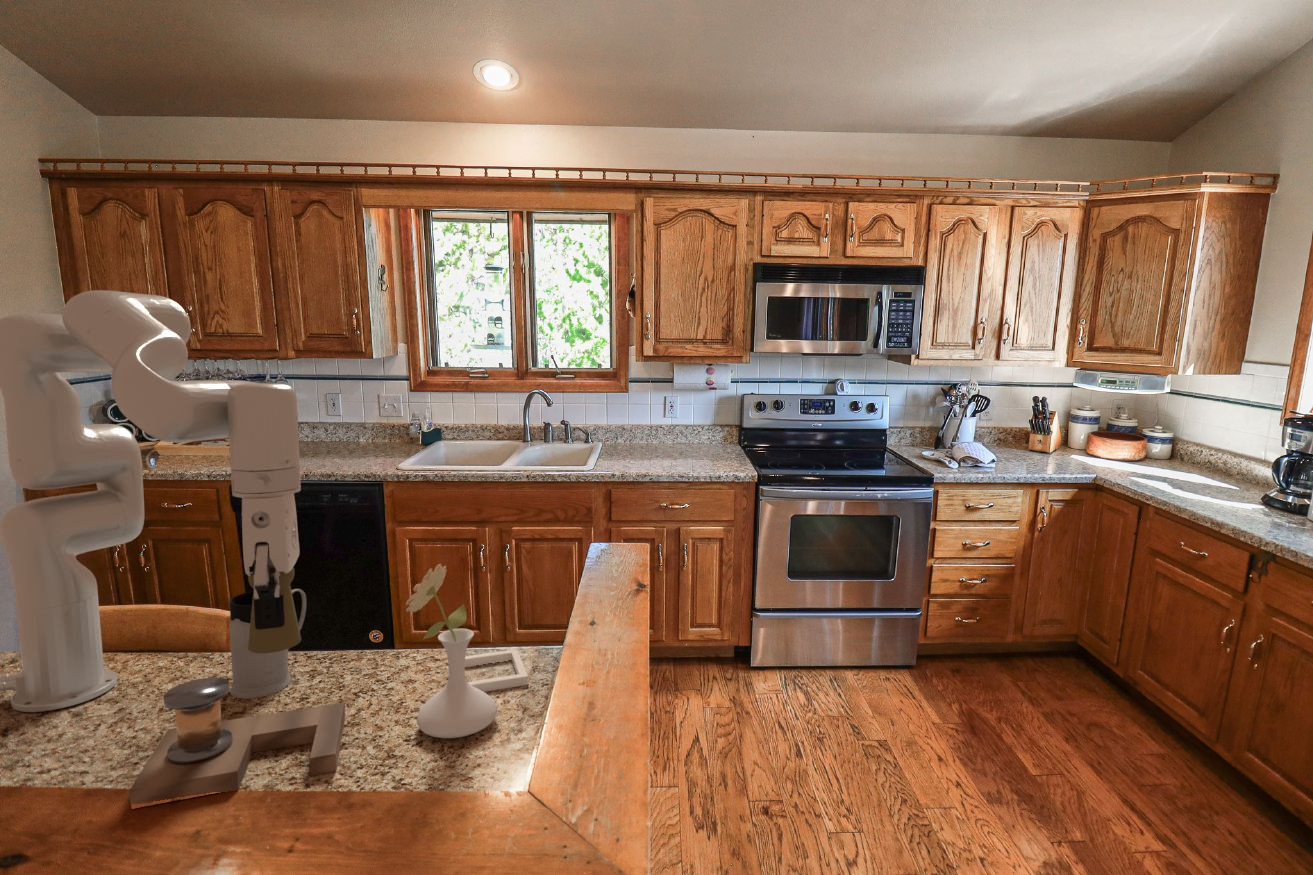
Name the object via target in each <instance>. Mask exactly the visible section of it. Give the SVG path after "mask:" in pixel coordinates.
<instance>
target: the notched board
mask: <svg viewBox="0 0 1313 875" xmlns="http://www.w3.org/2000/svg"><path fill="white" fill-rule="evenodd" d="M345 712H346V707H345V702H339V703H331V704H326V705H318V706H313V707H305V708H300V709H293V710H292V709H291V710H287V711H279V712H272V713H266V714H259V715H254V716H253V715H252V716H248V717H241V718H233V719H227V720H221V721H222V729H225V730H228V731H230V732H231V733H232V738H233V743H232V745H231V746H230V748H229V749H228V750H226V751H225V752H224V753H222V754H220V755H219V756H217V757H215V758H212V759H210V760H207V761H204V762H200V763H196V764H190V765H176V764H172V763H170V762H169V761H168V754H167V751H168V749H169V747H170V746H171V745H172V744H173V743H174V742H176V741H177V728H176V727H175V728H169V729H167V730H166V732H165V734H164V735H163V737H162V738H161V740H160V741H159V743H158V744H157V746H156V748H155V749H154V750H153V752H152V754H151V756H150V757H149V758H148V760H147V762H146V764H145V765H144V766H143V768H142V769H141V771H140V773H139V775H138V776H137V777H136V779H135V780H134V782H133V784H132V785H131V787H130V788H129V802H130V805H131V804H141V803H150V802H153V801H160V800H165V799H167V800H168V799H174V798H177V797H185V796H190V795H199V794H206V793H210V792H211V793H212V792H225V793H230V792H235V791H239V790H240V787H241V785H242V782H243V780H244V777H245V774H246V772H247V770H248V769H247V768H248V767H249V763H250V760H251V758H252V755H253V753H259V752H264V751H265V752H266V751H270V750H276V749H283V748H288V747H294V746H300V745H305V744H310V743H312V746H311V747H312V748H311V752H310V756H309V771H310V772H309V773H310V777H315V776H320V775H326V774H332V773H336V772H337V770H338V762H339V757H340V752H341V751H340V750H341V745H342V739H343V732H344V727H345V720H346V715H345V714H346V713H345ZM229 791H230V792H229Z"/></svg>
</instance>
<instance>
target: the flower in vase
mask: <svg viewBox="0 0 1313 875" xmlns="http://www.w3.org/2000/svg"><path fill="white" fill-rule="evenodd" d="M446 568H447V566H446V565H444V566H442V564H441V563H439V564H437V565H436V566H435V568H434V570H433V568H429V569H428V570H427V571H426V574H425V575H424V576H423V578H422V581H421V582H420V583H417V584H415V585H414V586H413V589H412V590H413V592H414V593H413V594H412V595H410V597H409V598H408V599H407V601H406V602H405V606H408V605H409V606H408V607H407V608H406V612H410V613H412V612H414V613H416V612H418V611H419V610H421V609H422V608H423V607H424V606H426V604H428V602H430V600H432V599H433V598H435V600H436V603H437V605H438V607H439V609H440V612H441V615H442V618H443V620H444V621H438V622H435V623H434V624H433V625H431V627H429V628H428V629H427V631H426V632H425V633H424V635H423V636H424V637H423V638H422V640H425V639H429V638H433V637H435V636H436V635H438V636H437V639H438V641H439V642H440V643H441V644H442V646H443V647H444V649H445V652H446V656H447V664H448V679H447V681H446V682H447V683H446V685H445V686H444V687H443V688H442V689H441V690H439V691H438V692H437V693H435V694H434V695H433V696H432V697H431V698H429V699H428V700H427V701H426V702H425V703H424V704H423V706H421V708H420V709H419V712H418V714H417V717H416V725H417V726H418V728H419V729H420V730H421V731H422V732H423V733H424V734H426V735H427V736H430V737H434V738H440V739H454V738H456V739H457V738H462V737H467V736H470V735H472V734H473V735H474V734H476V733H478V732H481V731H482V730H483V729H485V728H487V727H488V726H489V725H491V723H492V722H493V720H494V719H495V718H496V716H497V714H498V706H497V704H496V702H495V700H494V699H493V697H491V696H490V695H489V694H487V693H486V691H485V692H483V691H481V690H479V689H477V688H475V687H473V686H472V685H470V684H469V683H468V682H469V681H468V680H467V678H466V672H465V671H466V670H465V668H466V667H465V656H466V653H467V649H468V646H469V643H470V642H471V640H472V639H473V637H474V635H475V633H474V631H473V630H471V629H468V628H459V627H461V626H463V625H464V624H465V623H466V622H467V618H468V616H467V611H466V606H465V604H462V605H461V606H460V607H458V608H457V609H456V610H455V611H453V612H452V613H451V614H450V615H449V616H448V617H446V614H445V610H444V608H443V605H442V603H441V601H440V598H439V597H438V595H437V592H438V590H440V587H442V586H443V583H444V580H445V577H446V573H447V571H448V570H447V569H446ZM445 625H446V627H447V628H448V630H444V631H442V632H441V633H440V631H441V630H442V629H443V627H444V626H445ZM439 633H440V634H439Z"/></svg>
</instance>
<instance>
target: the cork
mask: <svg viewBox="0 0 1313 875" xmlns="http://www.w3.org/2000/svg"><path fill="white" fill-rule="evenodd" d="M269 572H276V570H275V568H269ZM269 572H268V573H269ZM280 573H281V575H280V579H281V595H284V615H285V624H284V626H282V627H277V628H268V629H259V630H258V629H256V628H255V615H254V575H253V576H252V577H251V576H249V575H247V581H248V583H249V586H250V587H251V588H252V589H253V590H252V591H253V602H252V612H251V622H250V632H249V642H248V650H249V651H251V652H254V653H273V652H278V651H282V650H286V649H289V650H290V649H291V648H294V647H296V646H297V645H298V644H300V643H301V641H302V635H301V630H300V631H299V626H298V623H299V621H298V617H297V612H296V607H295V602H294V597H293V594H292V591H291V590H292V586H291V583H292V582H293V580H294V577H295V568H294V567H293V568H292V570H291V571H290V572H289V573H287V574H284V571H282V572H280ZM271 580H272V581H273V583H274V577H273V578H269V581H271Z"/></svg>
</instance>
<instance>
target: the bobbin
mask: <svg viewBox="0 0 1313 875" xmlns="http://www.w3.org/2000/svg"><path fill="white" fill-rule="evenodd" d="M230 689H231V687H230V681H229V680H228V679H226V678H223V677H214V676H212V677H203V678H202V677H201V678H198V679H192V680H189V681H186V682H183V683H180V684H179V685H176V686H174V687H173V688H171V689H169V690H167V691H166V692H165V693H164V695H163V706H164V707H165V708H167V709H168V710H169V709H170V710H175V711H174V712H175V725H176V727H175V728H177V741H176V742H174V743H173V744H172V745H171V746H170V747H169V749H168V751H167V754H168V761H169V762H170V763H172V764H176V765H190V764H196V763H200V762H204V761H207V760H210V759H212V758H215V757H217V756H219V755H220V754H222V753H224V752H225V751H226V750H228V749H229V748H230V746H231V745H232V743H233V738H232V733H231V732H230V731H228V730H225V729H222V721H223V720H222V710H221V708H222V707H221V699H223V698H225V697H226V695H228V694H229V693H230Z"/></svg>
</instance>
